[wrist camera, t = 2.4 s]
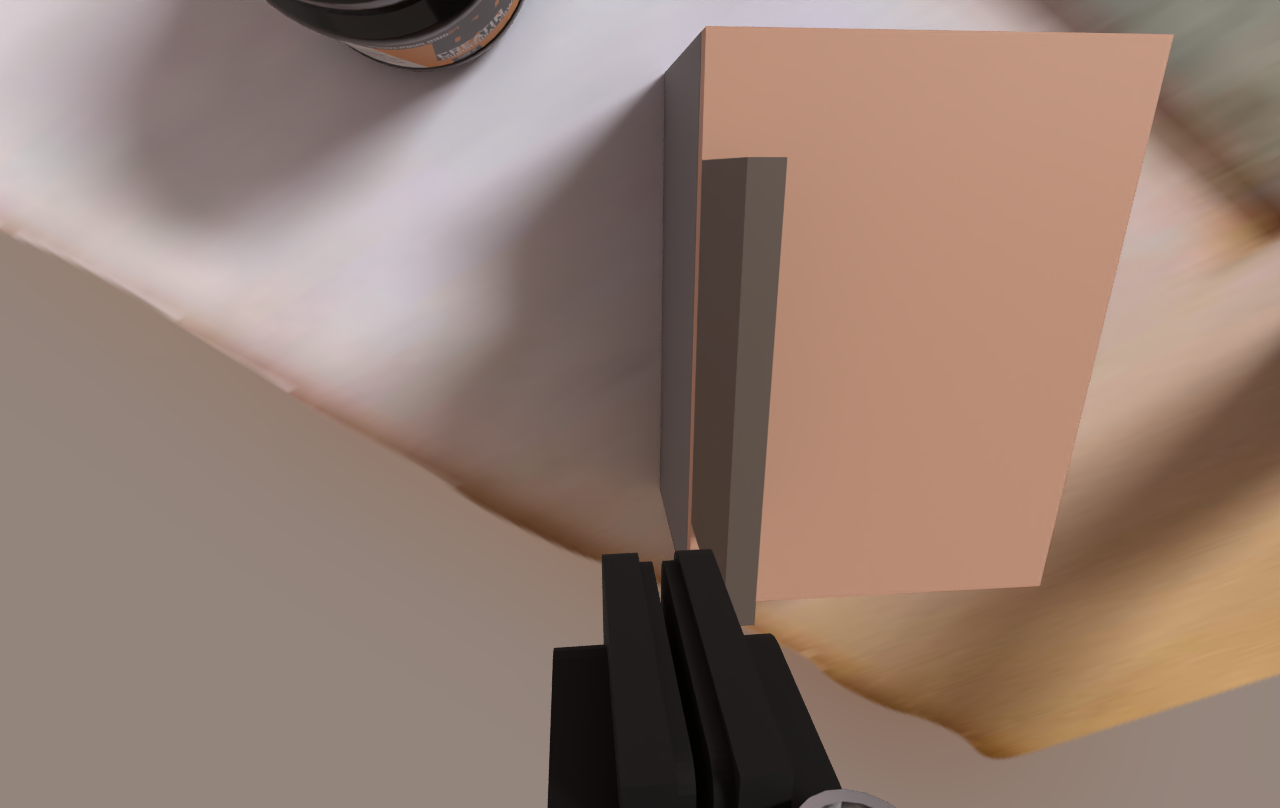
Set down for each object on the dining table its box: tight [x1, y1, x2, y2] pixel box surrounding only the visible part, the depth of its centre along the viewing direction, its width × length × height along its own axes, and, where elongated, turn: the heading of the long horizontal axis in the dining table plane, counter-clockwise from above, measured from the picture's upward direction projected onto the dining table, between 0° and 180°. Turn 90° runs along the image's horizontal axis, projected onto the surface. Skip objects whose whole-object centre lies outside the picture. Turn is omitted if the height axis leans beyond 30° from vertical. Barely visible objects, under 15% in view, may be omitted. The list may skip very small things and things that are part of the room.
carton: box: [660, 32, 702, 551], centre depth 31 cm, size 16×22×10 cm
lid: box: [687, 26, 1174, 626], centre depth 23 cm, size 16×22×7 cm
